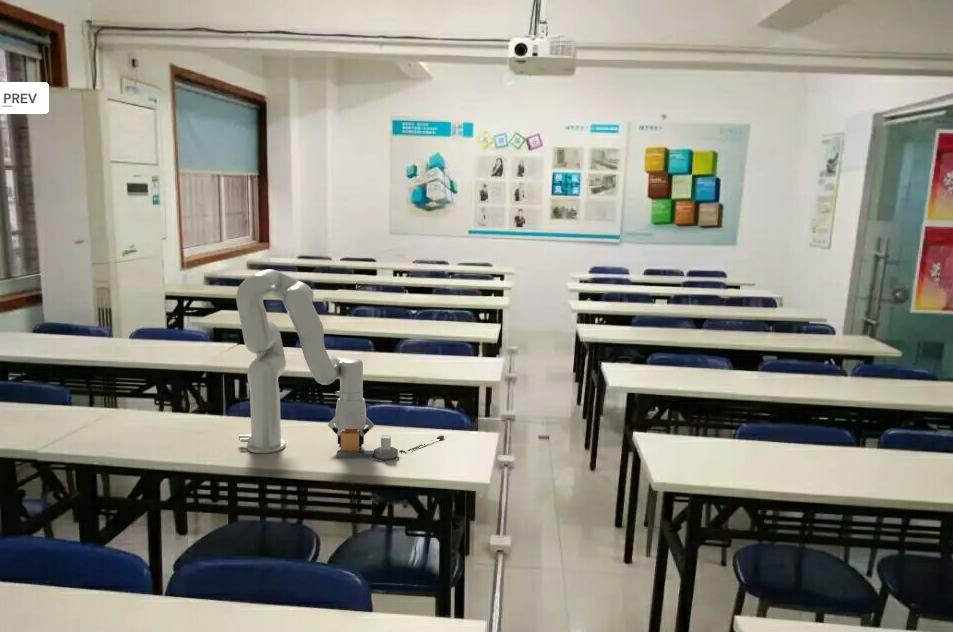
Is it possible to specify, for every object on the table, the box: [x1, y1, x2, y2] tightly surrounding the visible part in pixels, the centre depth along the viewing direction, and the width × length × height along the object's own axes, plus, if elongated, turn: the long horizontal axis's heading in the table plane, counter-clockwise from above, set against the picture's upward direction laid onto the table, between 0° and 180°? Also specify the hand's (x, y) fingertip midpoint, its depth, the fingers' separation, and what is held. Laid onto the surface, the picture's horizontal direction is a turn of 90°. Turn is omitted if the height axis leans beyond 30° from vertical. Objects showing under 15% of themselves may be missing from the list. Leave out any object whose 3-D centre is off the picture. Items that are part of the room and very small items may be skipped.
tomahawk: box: [398, 435, 445, 453], centre depth 232 cm, size 21×7×1 cm, turn 140°
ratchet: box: [336, 434, 399, 462], centre depth 221 cm, size 20×8×7 cm, turn 94°
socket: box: [340, 429, 360, 450], centre depth 228 cm, size 6×6×6 cm
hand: (350, 445), depth 228 cm, fingers closed on socket, 6 cm apart
